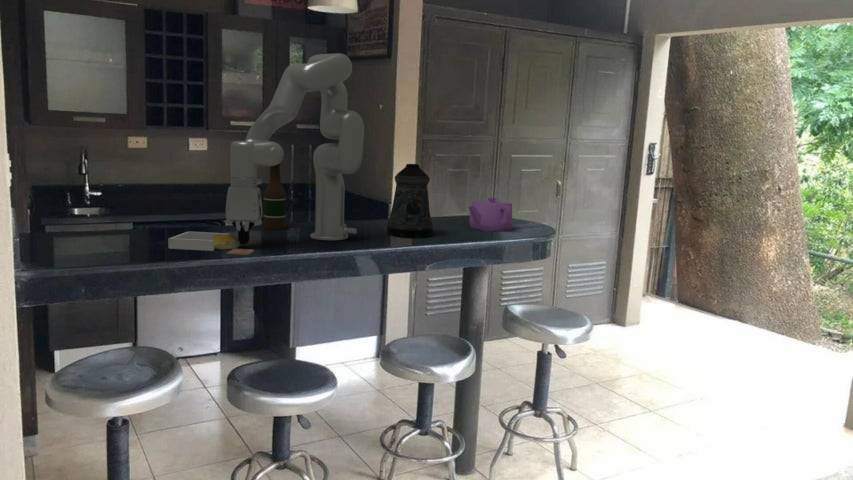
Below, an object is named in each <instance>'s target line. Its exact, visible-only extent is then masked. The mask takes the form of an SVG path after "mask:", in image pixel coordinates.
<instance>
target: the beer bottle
mask: <svg viewBox="0 0 853 480" xmlns="http://www.w3.org/2000/svg"><path fill="white" fill-rule="evenodd" d="M280 166H281V162H280V163H279V164H277V165H275V166H269V178H268V179H269V180H268V185H267V186H266V188H265V189H264V192H263V228H264V229H265V230H266V231H267V230H268V231H282V229H283V230H285V229H286V227H287V225H286V224H287V221H286V220H287V201H286V200H287V195H286V191H285V188H284V187H283V185H282V181H281V168H280Z"/></svg>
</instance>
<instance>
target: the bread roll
mask: <svg viewBox="0 0 853 480" xmlns="http://www.w3.org/2000/svg"><path fill="white" fill-rule="evenodd" d="M210 240H214V250H222V251H224V250H227V251H228V250H233V249H239V247H240V245H241V244H240V241H238V237H236V236H235V235H232V234H230V235H227V236H226V235H216V236H214V237H212V238H211V239H210Z"/></svg>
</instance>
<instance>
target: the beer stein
mask: <svg viewBox="0 0 853 480" xmlns="http://www.w3.org/2000/svg"><path fill="white" fill-rule="evenodd" d="M430 179H431V178H430V177H429V176H428V174H427V173H426V172H425V171H423V169H422V168H421V167H420V164H418V163H406V165H405V167H404V168H402V169H401V170H400V171H398V172H397V174H396V175H395V176H394V181H395V190H394V194H393V200H392V206H391V211H390V215H389V218H388V221H387V222H386V230H387V234H388V236H390V237H393V238H402V239H424V238H430V237H432V232H433V229H434V225H433V222H432V219H431V213H430V211H431V210H430V201H429V189H428V185H429V183H430Z"/></svg>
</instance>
